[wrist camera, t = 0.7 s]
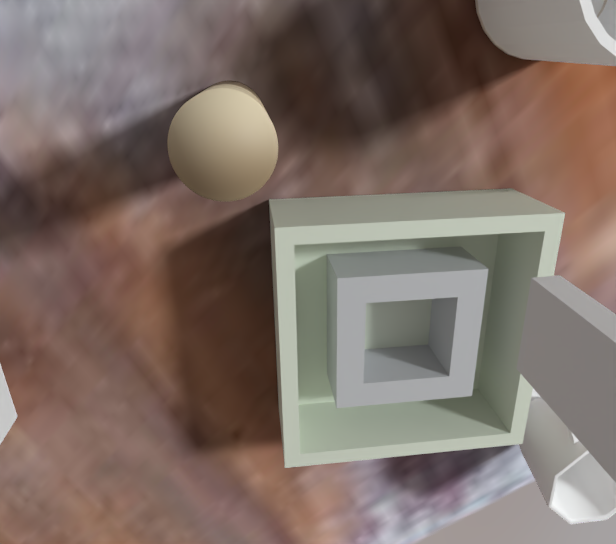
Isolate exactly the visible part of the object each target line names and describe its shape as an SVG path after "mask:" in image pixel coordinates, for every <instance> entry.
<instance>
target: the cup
mask: <svg viewBox="0 0 616 544" xmlns="http://www.w3.org/2000/svg"><path fill="white" fill-rule="evenodd" d="M519 446H520V448H521V451H522V454H523V456H524V458H525V460H526V462H527V464H528V466H529V468H530V470H531V472H532V474H533V476H534V478H535V480H536V482H537V484H538V486H539V489H540V491H541V493H542V495H543V497H544V499H545V501H546V503H547V505H548V507H549V508H550V509H552V510H553V511H554V512H555V513H557V514H558V515H559V516H560V517H562V518H563V519H564V520H565V521H566V522H568V523H569V524H577V523H584V522H593V521H602V520H607V519H608V518H610V517H611V516H612V515H614V514H615V513H616V483H615V481H614V480H613V479H612V478H611V477H610V476H609V474H608V473H607V472H606V471H605V470H604V469H603V468H602V466H601V465H600V464H599V463H598V462H597V461H596V460H595V458H594V457H593V456H592V455H591V454H590V453H589V452H588V450H587V449H586V448H585V447H584V446H583V445H582V443H581V442H580V441H579V440H578V439H577V438H576V437H575V435H574V434H573V433H572V432H571V431H570V430H569V429H568V427H567V426H566V425H565V424H564V423H563V422H562V421H561V419H560V418H559V417H558V416H557V415H556V414H555V412H554V411H553V410H552V409H551V408H550V407H549V406H548V404H547V403H546V402H545V401H544V400H543V399H542V398H541V396H540V395H539V394H538V393H537V392H536V391H535V390H534V388H533V390H532V395H531V401H530V406H529V412H528V417H527V423H526V428H525V433H524V439H523V444H519Z"/></svg>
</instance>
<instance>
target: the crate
mask: <svg viewBox="0 0 616 544" xmlns="http://www.w3.org/2000/svg"><path fill="white" fill-rule="evenodd" d="M269 212H270V233H271V254H272V276H273V297H274V319H275V340H276V362H277V383H278V404H279V416H280V426H281V436H282V445H283V455H284V464H285V468H289V467H299V466H309V465H319V464H328V463H338V462H348V461H358V460H368V459H378V458H388V457H398V456H408V455H418V454H427V453H437V452H447V451H457V450H467V449H477V448H487V447H497V446H507V445H517V444H523V439H524V433H525V428H526V423H527V417H528V412H529V406H530V401H531V395H532V390H533V387H532V386H531V385H530V384H529V383H528V381H527V380H526V379H525V378H524V377H523V376H522V375H521V373H520V372H519V371H518V370H517V363H518V356H519V350H520V344H521V338H522V332H523V326H524V320H525V314H526V308H527V301H528V295H529V289H530V283H531V278H534V277H546V276H554V271H555V265H556V260H557V255H558V249H559V244H560V238H561V233H562V227H563V222H564V217H565V213H564V212H562V211H560V210H558V209H555V208H553V207H551V206H549V205H547V204H544V203H542V202H540V201H538V200H536V199H533V198H531V197H529V196H527V195H525V194H522V193H520V192H518V191H516V190H514V189H490V190H468V191H446V192H424V193H402V194H379V195H357V196H335V197H313V198H291V199H269Z"/></svg>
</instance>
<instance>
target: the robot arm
mask: <svg viewBox="0 0 616 544" xmlns="http://www.w3.org/2000/svg"><path fill="white" fill-rule="evenodd" d="M517 370H518V371H519V372H520V373H521V375H522V376H523V377H524V378H525V379H526V380H527V381H528V383H529V384H530V385H531V386H532V387H533V388H534V390H535V391H536V392H537V393H538V394H539V395H540V396H541V398H542V399H543V400H544V401H545V402H546V403H547V404H548V406H549V407H550V408H551V409H552V410H553V411H554V412H555V414H556V415H557V416H558V417H559V418H560V419H561V421H562V422H563V423H564V424H565V425H566V426H567V427H568V429H569V430H570V431H571V432H572V433H573V434H574V435H575V437H576V438H577V439H578V440H579V441H580V442H581V443H582V445H583V446H584V447H585V448H586V449H587V450H588V452H589V453H590V454H591V455H592V456H593V457H594V458H595V460H596V461H597V462H598V463H599V464H600V465H601V466H602V468H603V469H604V470H605V471H606V472H607V473H608V474H609V476H610V477H611V478H612V479H613V480H614V481H615V483H616V314H615V313H613V312H612V311H610V310H609V309H607V308H606V307H604V306H603V305H602V304H600V303H599V302H597V301H596V300H594V299H593V298H592V297H590V296H589V295H587V294H586V293H584V292H583V291H581V290H580V289H579V288H577V287H576V286H574V285H573V284H571V283H570V282H569V281H567V280H566V279H564V278H563V277H561V276H560V275H559V276H546V277H534V278H531V283H530V289H529V295H528V301H527V308H526V314H525V320H524V326H523V332H522V338H521V344H520V350H519V356H518V363H517ZM16 418H17V414H16V411H15V408H14V404H13V401H12V398H11V395H10V392H9V389H8V386H7V383H6V380H5V377H4V374H3V370H2V367H1V364H0V444H1V442H2V441H3V439H4V438H5V436H6V434H7V433H8V431H9V430H10V428H11V426H12V425H13V423H14V422H15V420H16Z"/></svg>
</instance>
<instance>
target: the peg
mask: <svg viewBox="0 0 616 544" xmlns="http://www.w3.org/2000/svg"><path fill="white" fill-rule="evenodd" d="M167 146H168V154H169V158H170V162H171V165H172V167H173V169H174V171H175V173H176V174H177V176H178V177H179V178H180V180H181V181H182V182H183V183H184V184H185V185H186V186H187V187H188V188H189V189H191V190H192V191H193V192H195V193H197V194H198V195H200V196H202V197H205V198H207V199H211V200H215V201H236V200H240V199H243V198H246V197H248V196H250V195H252V194H254V193H255V192H256V191H258V190H259V189H260V188H261V187H262V186H263V185H264V184H265V183H266V182H267V181H268V179H269V178H270V176H271V174H272V173H273V170H274V168H275V165H276V162H277V157H278V139H277V135H276V131H275V128H274V126H273V123H272V122H271V120H270V118H269V116H268V114H267V112H266V110H265V108H264V106H263V104H262V102H261V100H260V98H259V97H258V96H257V94H256V93H255V92H254V91H253V90H252V89H251V88H249V87H248V86H246V85H244V84H242V83H240V82H236V81H222V82H218V83H216V84H214V85H212V86H210V87H209V88H207V89H205V90H204V91H202V92H201V93H199V94H197V95H196V96H194V97H193V98H191V99H190V100H188V101H187V102H186V103H185V104H184V105H183V106H182V107H181V108H180V109H179V110H178V112H177V113H176V114H175V116H174V118H173V120H172V122H171V125H170V128H169V132H168V140H167Z"/></svg>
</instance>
